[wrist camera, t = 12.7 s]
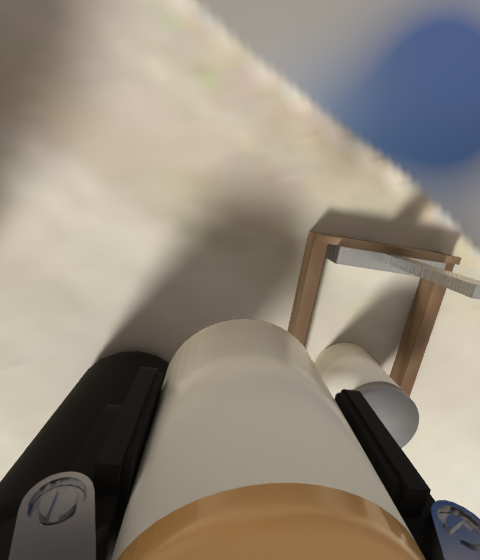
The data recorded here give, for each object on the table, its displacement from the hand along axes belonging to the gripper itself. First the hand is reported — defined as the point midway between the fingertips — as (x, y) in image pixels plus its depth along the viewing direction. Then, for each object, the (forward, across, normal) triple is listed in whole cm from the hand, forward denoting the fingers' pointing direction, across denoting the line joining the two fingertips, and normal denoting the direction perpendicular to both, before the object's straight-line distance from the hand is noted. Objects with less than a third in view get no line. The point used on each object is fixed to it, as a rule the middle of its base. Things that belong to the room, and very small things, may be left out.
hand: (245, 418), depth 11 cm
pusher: (+18, -13, -4) cm, 23 cm away
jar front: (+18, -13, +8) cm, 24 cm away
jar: (+2, 0, 0) cm, 2 cm away
